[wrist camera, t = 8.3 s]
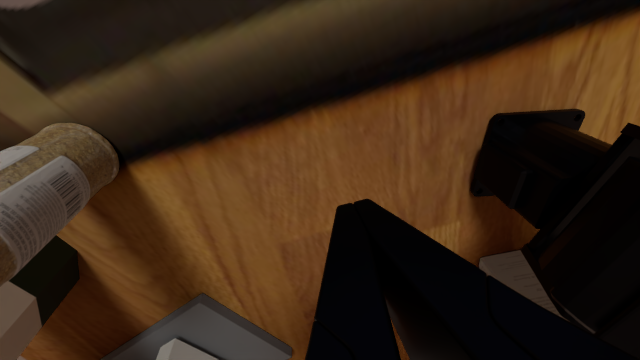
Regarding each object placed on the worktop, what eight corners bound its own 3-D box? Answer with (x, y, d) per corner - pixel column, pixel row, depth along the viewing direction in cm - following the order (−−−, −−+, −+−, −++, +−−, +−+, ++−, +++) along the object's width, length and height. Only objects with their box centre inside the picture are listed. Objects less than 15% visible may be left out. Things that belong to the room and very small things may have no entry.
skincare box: (524, 297, 31) (689, 499, 18) (468, 308, 31) (594, 518, 18) (540, 240, 26) (773, 455, 14) (475, 254, 27) (647, 479, 14)
